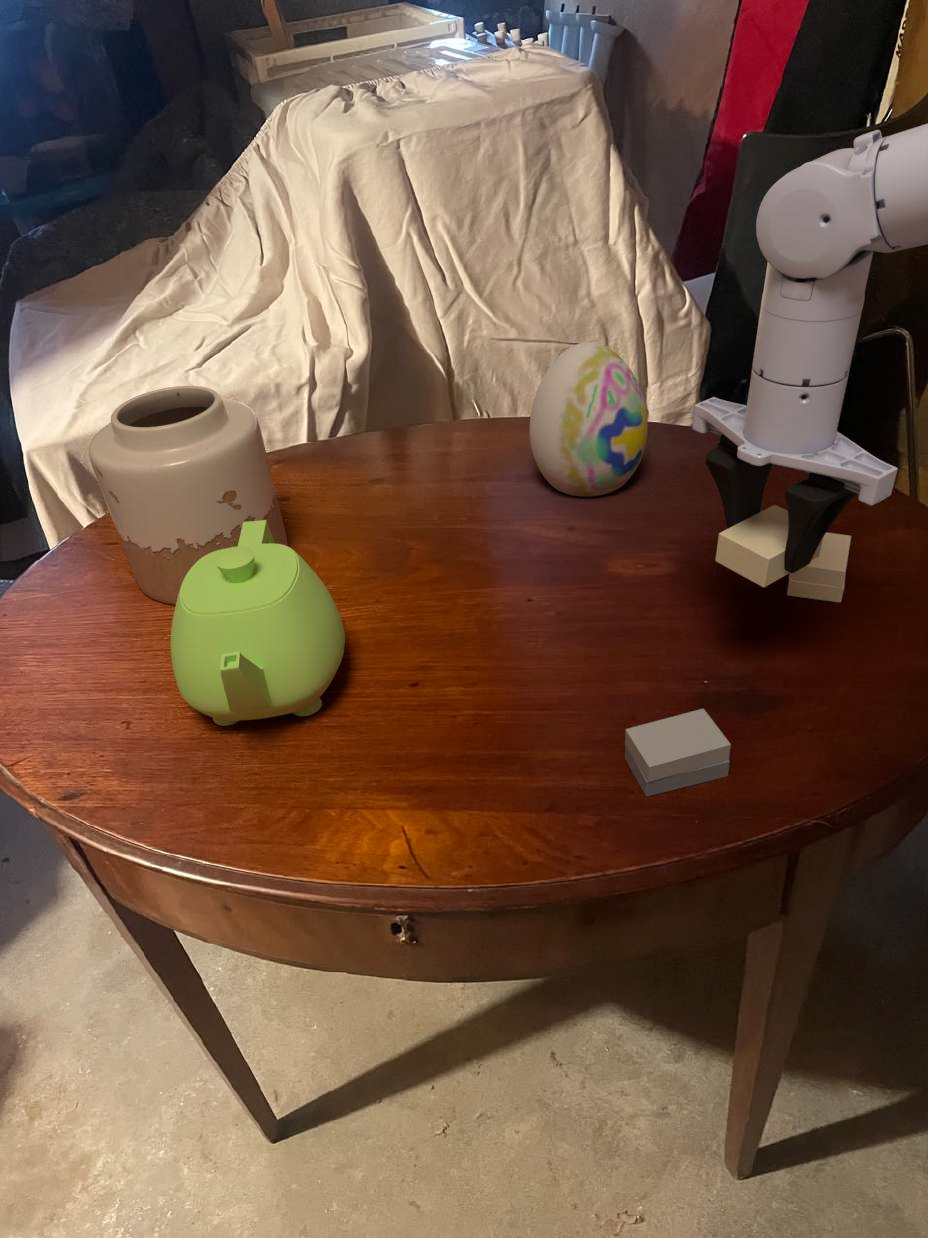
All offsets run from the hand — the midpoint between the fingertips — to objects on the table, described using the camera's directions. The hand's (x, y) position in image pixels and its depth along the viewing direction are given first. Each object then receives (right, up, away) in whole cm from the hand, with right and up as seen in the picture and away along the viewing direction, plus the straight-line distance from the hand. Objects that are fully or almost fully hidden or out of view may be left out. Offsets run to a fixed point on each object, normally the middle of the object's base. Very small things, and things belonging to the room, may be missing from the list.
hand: (767, 551), depth 63 cm
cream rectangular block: (0, -1, 0) cm, 1 cm away
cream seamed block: (+9, -1, +14) cm, 17 cm away
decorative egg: (-8, +10, +33) cm, 35 cm away
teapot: (-38, -11, +9) cm, 40 cm away
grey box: (-7, -15, -2) cm, 17 cm away
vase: (-47, +1, +25) cm, 53 cm away
